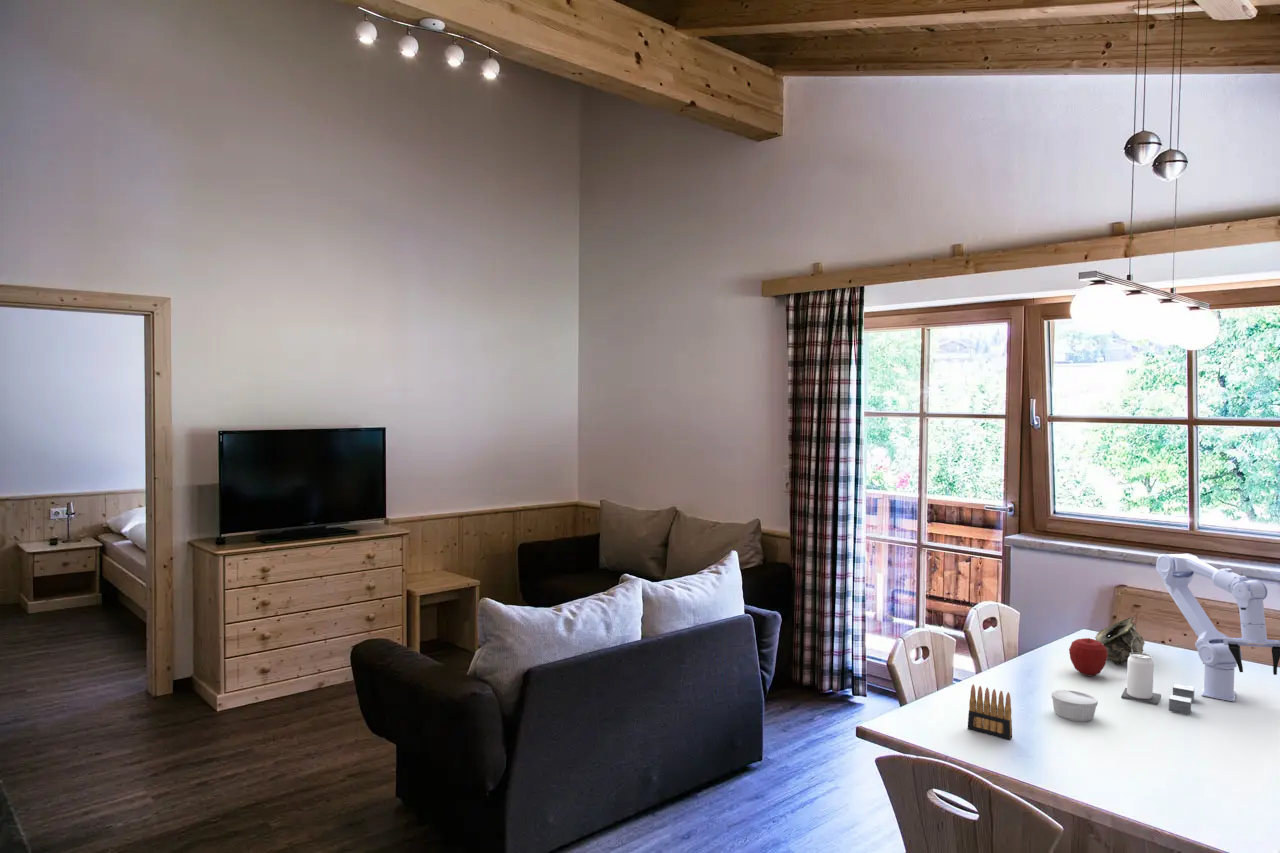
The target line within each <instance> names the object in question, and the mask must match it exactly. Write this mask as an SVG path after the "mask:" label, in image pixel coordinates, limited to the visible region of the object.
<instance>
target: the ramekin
mask: <svg viewBox="0 0 1280 853" xmlns="http://www.w3.org/2000/svg"><path fill="white" fill-rule="evenodd" d="M1051 699H1052V705H1053V710H1054V712H1055V713H1056V715H1057V716H1059V717H1060V718H1062V719H1065V720H1069V721H1073V722H1089V721H1091V720H1093V719H1094V716H1095V713H1096V710H1097V708H1096V707H1097V706H1098V704H1099V701H1098V699H1097V698H1095V697H1094V696H1092V695H1090V694H1088V693H1084V692H1080V691H1076V690H1070V689H1068V690H1067V689H1058V690H1054V691H1053V692H1052V693H1051Z"/></svg>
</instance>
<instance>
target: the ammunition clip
mask: <svg viewBox="0 0 1280 853" xmlns="http://www.w3.org/2000/svg"><path fill="white" fill-rule="evenodd" d="M984 691H985V692H984V699H983V688H982V686H981V685H979V687H978V690H977V691H976V688H975V684H972V685H971V689H970V696H969V697H970V698H969V705H968V706H969V708H968V716H967V730H968V731H972V732H976V733H980V734H983V735H987V736H990V737H996V738H999V739H1002V740H1007V741H1011V740H1012V739H1013V726H1012V725H1013V724H1012V723H1013V722H1012V720H1013V719H1012V704H1011V703H1012V702H1011V694H1010V692H1007V693H1006V696H1005V700H1004V693H1003V691H1002V690H1000V692H999V695H998V697H997V691H996V689H995V688H994V689H993V690H992V692H991V699H990V689H989V688H988V687H986V689H985V690H984ZM976 692H977V697H976ZM997 698H998V701H997ZM1004 701H1005V702H1004ZM997 702H998V703H997Z"/></svg>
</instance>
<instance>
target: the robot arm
mask: <svg viewBox="0 0 1280 853" xmlns="http://www.w3.org/2000/svg"><path fill="white" fill-rule="evenodd" d="M1155 569H1156V571H1157V573H1158V574H1159V576H1160V578H1162V581H1163V584H1164V587H1165V589H1166V591H1167V592H1168V593H1169V595H1170V597H1171V598H1172V600H1173V602H1174V603H1175V604H1176V606H1177V607H1178V608H1179V611H1180V612H1181V614H1182V615H1183V617H1184V618H1185V620H1186V621H1187V623H1188V624H1189V626H1190V627H1191V629H1192V630H1193V632H1194V633H1195V635H1196V637H1197V640H1196V641H1195V644H1194V646H1195V648H1196V650H1197V652H1198V653H1197V654H1198V656H1199V659H1200V661H1201V662H1202V664H1203V665H1204V675H1203V676H1204V677H1203V686H1202V690H1201V696H1203V697H1208V698H1211V699H1212V698H1213V699H1217V700H1222V701H1227V702H1228V701H1229V702H1235V701H1236V694H1237V692H1236V691H1235V690H1234V689H1235V668H1238V670H1239V673H1243V672H1244V666H1243V662H1242V658H1243V653H1242V650H1241V647H1254V648H1255V647H1256V648H1257V647H1259V648H1271V656H1272V672H1273V675H1274V676H1277V675H1278V665H1279V663H1280V662H1279V661H1280V639H1279V640H1278V639H1268V635H1267V633H1268V632H1267V626H1266V625H1267V624H1266V616H1265V606H1264V600H1265V599H1266V598H1267V597H1268V594H1269V593H1268V588H1267V586H1266V584H1265V583H1264V582H1262V581H1261V580H1259V579H1251V580H1250V579H1248V577H1247V576H1246V575H1240V574H1238V573H1236V572H1233V569H1231V568H1221V569H1218V568H1216V567H1214V566H1212V565H1210V564H1208V563H1207V562H1206V561H1205V562H1204V561H1203V560H1201V559H1199V558H1198V556H1197V555H1194V554H1191V553H1189V552H1188V553H1174V554H1172V553H1171V554H1170V553H1169V554H1167V553H1162V554H1159V555H1158V557H1157V559H1156V565H1155ZM1195 574H1198V575H1199V576H1202V577H1204V578H1206V579H1207V578H1208V579H1209V580H1211V581H1212V583H1213V585H1215V586H1216V587H1218V588H1219V589H1221V590H1224V591H1225V592H1228V593H1230V594H1232V596H1233V597H1234V599H1235V601H1236V605H1237V607H1238V611H1239V619H1240V632H1241V637H1229V636H1228V635H1226V634H1224V633H1222V632H1220V631H1219V630H1218V629H1217V628H1216V626H1215V625H1214V624H1213V622H1212V619H1210V618H1209V616H1208V614H1207V613H1206V612H1205V610H1204V609H1203V607H1202V606H1201V604H1200V602H1199V601H1198V599H1197V598H1196V597H1195V595H1194V593H1193V592H1192V591H1191V589H1190V588H1189V584H1190V583H1191V582H1192V580H1193V578H1194V575H1195Z"/></svg>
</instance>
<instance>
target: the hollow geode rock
mask: <svg viewBox="0 0 1280 853" xmlns="http://www.w3.org/2000/svg"><path fill="white" fill-rule="evenodd" d="M1133 620H1135V617H1132V616H1131V617H1129V618H1126V619H1123V620H1120V621H1118V622H1116V623H1114V624H1112V625H1111V626H1110V625H1109V626H1108V627H1105V628H1104V629H1101V630H1100V631H1098V632H1097V633H1096V636H1095V637H1094V638H1095V640H1097V641H1099V642H1101V643H1102V644H1103V645H1104V646H1105V647H1106V649H1107V653H1108V656H1107V661H1110V662H1112V663H1114V664H1115V665H1118V666H1121V665H1122V664H1125V663H1128V657H1129V656H1130V653H1132V652H1138V653H1143V652H1144V646H1145V645H1146V644H1145V639H1144V638H1143V636H1142V635H1141V634H1139V632H1138V631H1136V630H1137V626H1136V624H1135V623H1134V622H1133Z"/></svg>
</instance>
